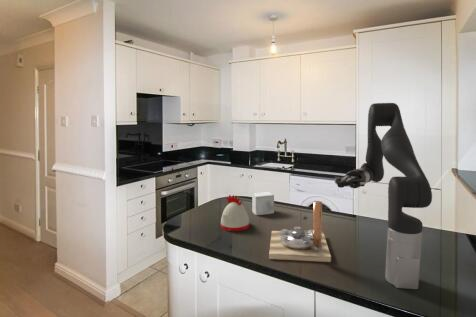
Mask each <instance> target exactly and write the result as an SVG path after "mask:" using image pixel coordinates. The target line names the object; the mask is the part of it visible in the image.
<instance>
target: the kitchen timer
mask: <svg viewBox="0 0 476 317" xmlns="http://www.w3.org/2000/svg"><path fill="white" fill-rule="evenodd" d="M226 201H227V203H228V204H227V205H226V206H225V207H224V209H223V212H222V215H221V218H220V228H221V229H222V230H224V231H229V232H239V231H245V230H247V229H248V228H250V225H251V224H250V223H251V222H250V218H249V214H248V211H247V210H246V208H245V206H243V205H242V203H243V200H241V201H240V197H239V198H238V197H237V195H234V194H233V195H231V194H229V195H228V196H227V197H226Z"/></svg>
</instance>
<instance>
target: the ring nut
mask: <svg viewBox="0 0 476 317" xmlns="http://www.w3.org/2000/svg"><path fill="white" fill-rule="evenodd" d="M312 204H313V205H312V206H313V207H312V208H313V209H312V213H313V214H312V229H308V230H305V229H304V230H303V229H302V227H301V226H294V227H293V228H294V229H287V228H283V229H280V231H281V244H282V245H283V246H285V247H287V248H290V249H296V250H306V249H311V248H314V249H315V250H317V251H319V250H322V246H321V240H322V233H323V231H322V227H323V201H319V200H315V201H313V202H312Z"/></svg>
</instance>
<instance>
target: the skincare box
mask: <svg viewBox="0 0 476 317" xmlns="http://www.w3.org/2000/svg"><path fill="white" fill-rule="evenodd" d="M251 195H252V196H251V199H252V202H251V204H252V205H251V206H252V207H251V208H252V210H251V212H252V213H253V214H254V215H255V216H263V215H270V214H275V194H273V193H272V192H271V191H266V192H265V191H264V192H255V193H252V194H251Z"/></svg>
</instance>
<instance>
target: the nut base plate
mask: <svg viewBox="0 0 476 317" xmlns="http://www.w3.org/2000/svg"><path fill="white" fill-rule="evenodd" d="M326 239H327V238H326V237H325V234H324V232H322V240H321V246H322V250H319V251H317V250H315V249H314V248H311V249H306V250H296V249H290V248H287V247H285V246H283V245H282V244H281V230H271V234H270V243H269V253H268V259H269V260H283V261H284V260H285V261H301V262H302V261H303V262H320V263H321V262H323V263H325V262H326V263H331V262H332V255H331V252H330V249H329V246H328V243H327V240H326Z"/></svg>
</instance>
